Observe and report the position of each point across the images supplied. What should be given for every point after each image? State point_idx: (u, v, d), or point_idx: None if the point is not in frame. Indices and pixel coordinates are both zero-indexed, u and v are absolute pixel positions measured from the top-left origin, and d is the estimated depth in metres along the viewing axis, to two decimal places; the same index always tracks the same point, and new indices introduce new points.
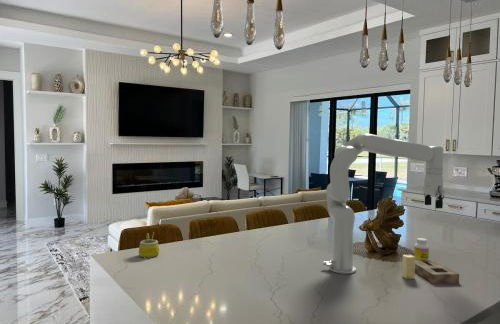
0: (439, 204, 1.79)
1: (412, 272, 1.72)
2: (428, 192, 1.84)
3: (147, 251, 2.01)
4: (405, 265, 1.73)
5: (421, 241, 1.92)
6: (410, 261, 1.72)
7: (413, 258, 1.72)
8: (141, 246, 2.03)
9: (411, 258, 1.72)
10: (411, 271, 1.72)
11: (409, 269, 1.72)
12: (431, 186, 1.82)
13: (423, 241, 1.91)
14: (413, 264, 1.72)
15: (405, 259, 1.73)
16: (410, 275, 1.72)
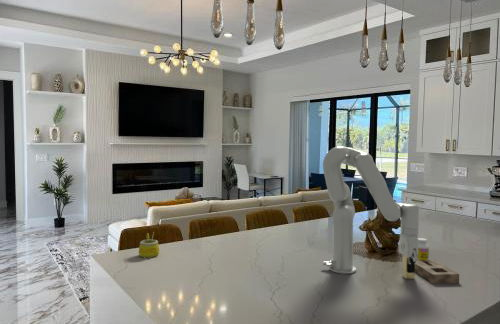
0: (411, 268, 1.71)
1: None
2: (403, 253, 1.73)
3: (147, 251, 2.01)
4: (405, 265, 1.73)
5: (421, 241, 1.92)
6: None
7: None
8: (141, 246, 2.03)
9: None
10: None
11: None
12: (406, 248, 1.71)
13: (423, 241, 1.91)
14: None
15: (405, 259, 1.73)
16: (410, 275, 1.72)
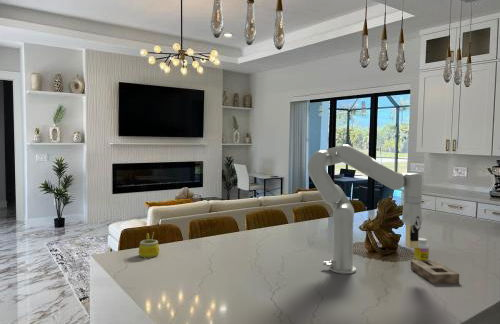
0: (414, 237, 1.71)
1: (415, 241, 1.72)
2: (406, 222, 1.73)
3: (147, 251, 2.01)
4: (408, 234, 1.73)
5: (421, 241, 1.92)
6: None
7: None
8: (141, 246, 2.03)
9: (414, 227, 1.72)
10: None
11: None
12: (409, 216, 1.71)
13: (423, 241, 1.91)
14: None
15: (408, 228, 1.73)
16: (413, 244, 1.72)
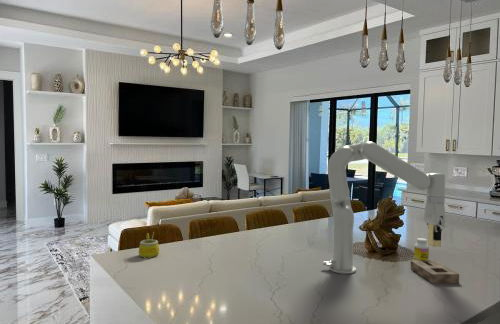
0: (438, 236, 1.73)
1: (438, 240, 1.74)
2: (429, 221, 1.75)
3: (147, 251, 2.01)
4: (431, 233, 1.75)
5: (421, 241, 1.92)
6: None
7: None
8: (141, 246, 2.03)
9: (437, 226, 1.74)
10: None
11: None
12: (432, 215, 1.73)
13: (423, 241, 1.91)
14: None
15: (431, 227, 1.75)
16: (436, 243, 1.74)
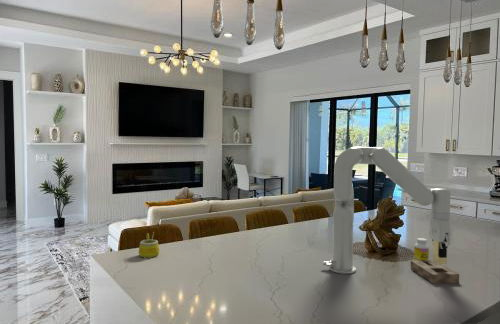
0: (443, 253, 1.68)
1: None
2: (434, 238, 1.71)
3: (147, 251, 2.01)
4: (437, 250, 1.71)
5: (421, 241, 1.92)
6: None
7: None
8: (141, 246, 2.03)
9: (443, 243, 1.70)
10: None
11: None
12: (437, 232, 1.68)
13: (423, 241, 1.91)
14: None
15: (437, 244, 1.71)
16: (442, 260, 1.70)
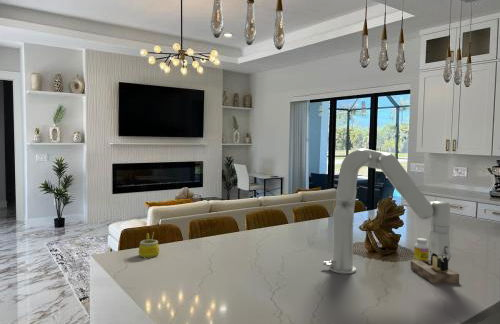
0: (444, 266, 1.67)
1: None
2: (434, 251, 1.71)
3: (147, 251, 2.01)
4: (435, 266, 1.71)
5: (421, 241, 1.92)
6: None
7: None
8: (141, 246, 2.03)
9: None
10: None
11: (439, 270, 1.70)
12: (437, 245, 1.69)
13: (423, 241, 1.91)
14: None
15: (435, 260, 1.71)
16: None
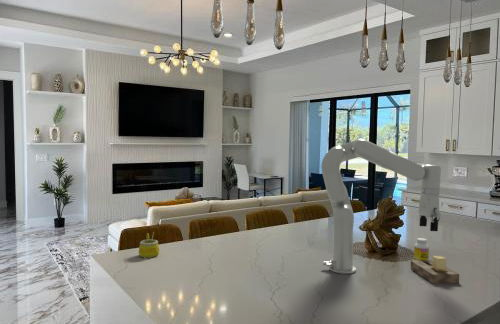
0: (434, 227, 1.69)
1: None
2: (423, 213, 1.74)
3: (147, 251, 2.01)
4: (435, 266, 1.71)
5: (421, 241, 1.92)
6: (441, 262, 1.70)
7: (444, 259, 1.70)
8: (141, 246, 2.03)
9: (442, 259, 1.70)
10: None
11: (439, 270, 1.70)
12: (426, 207, 1.72)
13: (423, 241, 1.91)
14: (444, 265, 1.70)
15: (435, 260, 1.71)
16: None
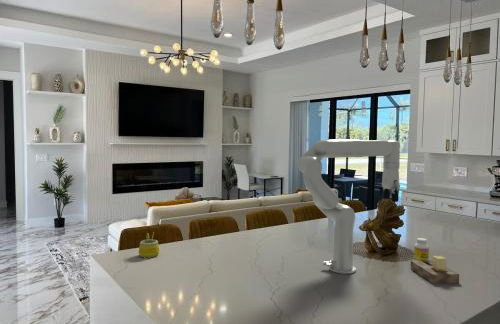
0: (395, 197, 1.83)
1: None
2: (385, 186, 1.88)
3: (147, 251, 2.01)
4: (435, 266, 1.71)
5: (421, 241, 1.92)
6: (441, 262, 1.70)
7: (444, 259, 1.70)
8: (141, 246, 2.03)
9: (442, 259, 1.70)
10: None
11: (439, 270, 1.70)
12: (388, 180, 1.85)
13: (423, 241, 1.91)
14: (444, 265, 1.70)
15: (435, 260, 1.71)
16: None
